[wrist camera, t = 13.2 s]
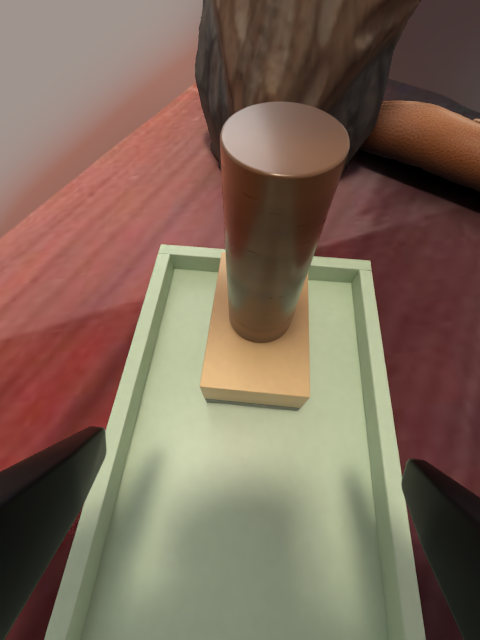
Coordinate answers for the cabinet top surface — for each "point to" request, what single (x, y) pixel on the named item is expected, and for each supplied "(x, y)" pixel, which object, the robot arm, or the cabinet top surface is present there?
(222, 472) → the tray
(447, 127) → the sunglasses case
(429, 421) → the cabinet top surface
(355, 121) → the jagged stone chunk
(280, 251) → the rubber stamp
